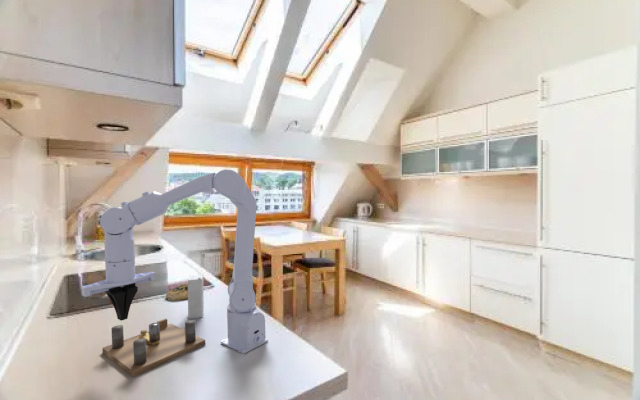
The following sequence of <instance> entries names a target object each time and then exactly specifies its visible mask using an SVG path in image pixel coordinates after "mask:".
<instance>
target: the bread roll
mask: <svg viewBox="0 0 640 400" xmlns="http://www.w3.org/2000/svg"><path fill="white" fill-rule="evenodd" d="M165 298H168V299H169V300H168V299H167V300H168V301H183V300H186V299H188V284H186V283H184V284H181V285H179V286H175V287H173V288H172V289H170V290H168V292H166V294H165Z"/></svg>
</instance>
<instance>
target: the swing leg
mask: <svg viewBox="0 0 640 400" xmlns="http://www.w3.org/2000/svg"><path fill="white" fill-rule="evenodd" d="M148 331H149V333H145V334H141V333H140V334H138V335H139V338H140V339H141V338H144V339H146V342H147V343H149V344H150V345H155V344H157V343H160V341H159V340H160V323H158V322H157V321H156V322H152V323H149V324H148Z"/></svg>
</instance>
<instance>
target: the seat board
mask: <svg viewBox="0 0 640 400" xmlns="http://www.w3.org/2000/svg"><path fill="white" fill-rule="evenodd" d="M156 322H158V323H160V340H159V341H160V343H157V344H155V345H150V344H149V343H147V342H146V339H144V338H141V339H140V338H139V335H140V334H145V333H149V330H147V329H143V330H140V334H137V335H134V336H131V337H128V338H126V339H124V338H125V337H124V325H122V324H120V325H119V324H117V325H114V326H112V327H111V344H110V345H107V346H104V347H101V348H102V350H101V351H102V354H103V355H105V356H106V357H107V358H109V359H110V360H111V361H113V362H114V363H115V364H116V365H117V366H119V367H121V369H123V370H124V371H125V372H127V374H129V375H130V376H132V377H133V378H135V377H136V376H139V375H142V373H145V372H148V371H150V370H153V369H154V368H156V367H158V366H161V365H163V364H165V363H167V362H170V361H172V360H174V359H176V358H179V357H181V356H183V355H186V354H188V353H190V352H192V351H194V350H196V349H199V348H201V347H203V346H206V339H205V338H202V337H200V336H198V335H196V334H197V333H196V320H193V319H191V320H186V321H185V322H184V329H183V328H181V327H179V326H177V325H174V324H173V323H168V319H167V318H163V319H160V320H157V321H156Z"/></svg>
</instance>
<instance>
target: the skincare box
mask: <svg viewBox="0 0 640 400" xmlns="http://www.w3.org/2000/svg"><path fill="white" fill-rule="evenodd" d="M187 282H188V283H187V285H188V298H187V319H188V320H189V319H191V320H192V319H198V318H202V317H203V314H204V308H205V305H204V304H205V303H204V302H205V301H204V299H205V298H204V273H198V274H191V275H189V277H188V281H187Z"/></svg>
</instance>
